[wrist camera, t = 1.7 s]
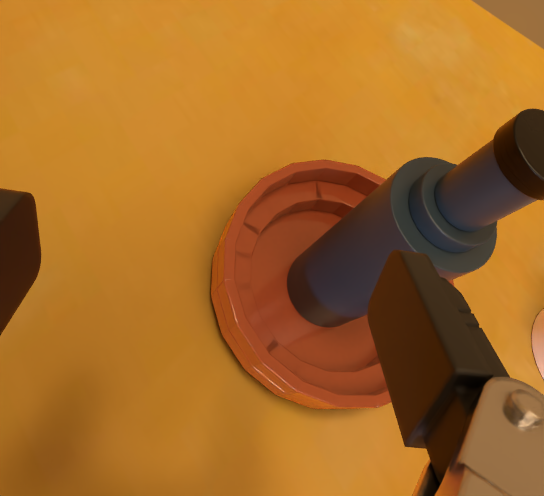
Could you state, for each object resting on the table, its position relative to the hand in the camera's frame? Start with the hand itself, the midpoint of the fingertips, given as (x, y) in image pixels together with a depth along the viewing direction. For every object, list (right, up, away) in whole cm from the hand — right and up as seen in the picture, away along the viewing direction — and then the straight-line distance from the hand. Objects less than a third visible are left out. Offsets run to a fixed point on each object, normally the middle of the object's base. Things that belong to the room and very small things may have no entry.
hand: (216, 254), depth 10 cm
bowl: (+5, -3, +22) cm, 23 cm away
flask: (+5, -3, +22) cm, 22 cm away
